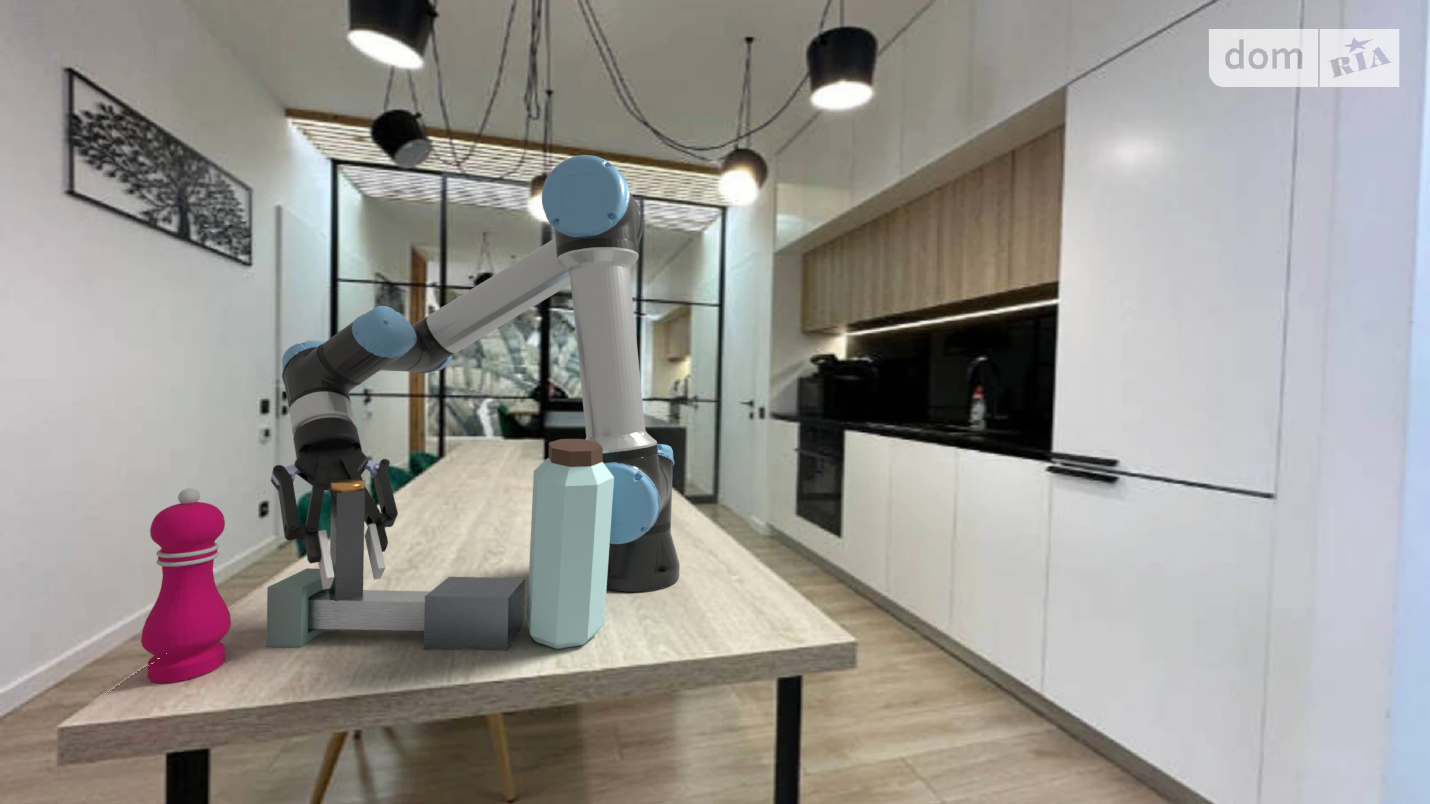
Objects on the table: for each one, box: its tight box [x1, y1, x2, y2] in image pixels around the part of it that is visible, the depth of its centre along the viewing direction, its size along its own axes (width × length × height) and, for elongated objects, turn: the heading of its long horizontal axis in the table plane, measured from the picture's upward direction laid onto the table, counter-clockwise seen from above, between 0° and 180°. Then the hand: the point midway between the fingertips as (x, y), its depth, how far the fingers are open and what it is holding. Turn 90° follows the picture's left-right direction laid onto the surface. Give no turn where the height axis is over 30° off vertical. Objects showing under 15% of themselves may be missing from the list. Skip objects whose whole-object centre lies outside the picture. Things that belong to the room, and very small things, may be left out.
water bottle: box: [526, 438, 614, 650], centre depth 72 cm, size 10×10×25 cm
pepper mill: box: [140, 488, 232, 684], centre depth 62 cm, size 7×7×20 cm
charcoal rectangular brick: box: [423, 576, 526, 651], centre depth 73 cm, size 10×7×6 cm
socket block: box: [266, 567, 328, 648], centre depth 72 cm, size 4×7×7 cm, turn 3°
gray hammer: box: [308, 480, 432, 632], centre depth 72 cm, size 18×4×18 cm, turn 93°
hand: (354, 577), depth 69 cm, fingers open, 5 cm apart
